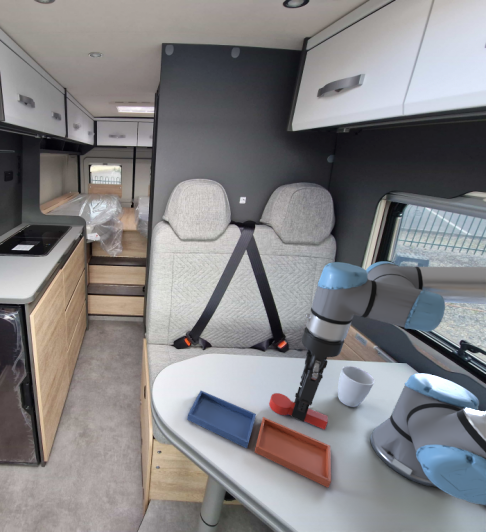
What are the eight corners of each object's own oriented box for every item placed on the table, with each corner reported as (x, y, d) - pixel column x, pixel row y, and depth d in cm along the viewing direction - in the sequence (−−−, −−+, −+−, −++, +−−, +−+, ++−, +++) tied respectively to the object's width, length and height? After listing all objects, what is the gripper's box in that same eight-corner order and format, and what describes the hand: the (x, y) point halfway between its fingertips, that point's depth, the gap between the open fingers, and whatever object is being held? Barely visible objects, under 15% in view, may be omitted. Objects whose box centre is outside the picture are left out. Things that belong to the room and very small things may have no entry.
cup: (368, 413, 91) (380, 387, 87) (338, 408, 92) (349, 381, 88) (356, 393, 98) (366, 368, 94) (328, 388, 100) (337, 363, 96)
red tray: (328, 451, 79) (330, 445, 78) (328, 488, 70) (331, 482, 69) (261, 422, 86) (262, 416, 85) (254, 452, 77) (255, 446, 77)
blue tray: (254, 419, 87) (256, 413, 86) (246, 448, 78) (248, 442, 77) (199, 395, 94) (200, 390, 94) (187, 419, 86) (187, 414, 85)
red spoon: (324, 419, 75) (327, 412, 74) (324, 434, 71) (327, 426, 70) (270, 397, 80) (272, 390, 79) (267, 409, 76) (269, 402, 76)
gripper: (307, 312, 74) (285, 388, 83) (303, 344, 62) (277, 429, 71) (343, 322, 71) (316, 400, 80) (346, 357, 59) (314, 445, 67)
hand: (298, 413), depth 75 cm, fingers closed on red spoon, 2 cm apart
